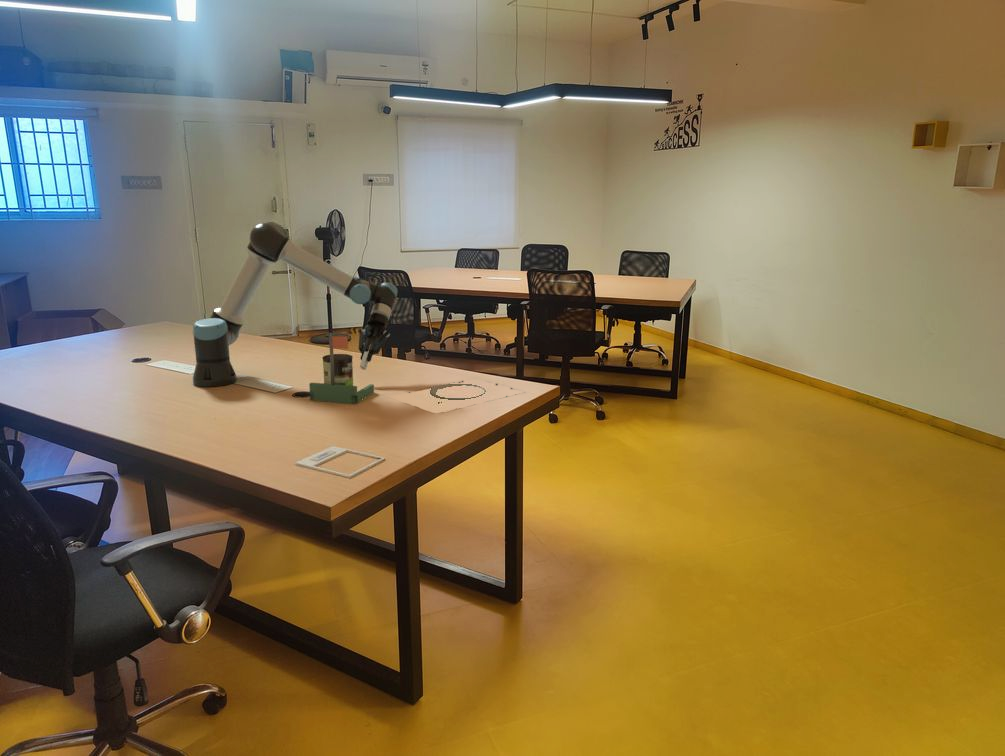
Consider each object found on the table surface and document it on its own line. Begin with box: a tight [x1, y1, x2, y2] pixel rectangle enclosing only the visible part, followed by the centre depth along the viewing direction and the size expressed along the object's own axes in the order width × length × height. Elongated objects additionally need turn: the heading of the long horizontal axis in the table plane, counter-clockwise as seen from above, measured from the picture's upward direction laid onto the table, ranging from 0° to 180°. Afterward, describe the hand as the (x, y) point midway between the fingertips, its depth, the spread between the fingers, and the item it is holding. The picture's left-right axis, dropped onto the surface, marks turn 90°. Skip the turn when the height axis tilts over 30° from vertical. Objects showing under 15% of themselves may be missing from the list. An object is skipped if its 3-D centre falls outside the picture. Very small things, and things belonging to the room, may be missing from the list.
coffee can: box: [321, 353, 354, 386], centre depth 235 cm, size 10×10×14 cm
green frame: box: [308, 332, 375, 405], centre depth 232 cm, size 16×17×24 cm
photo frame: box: [294, 445, 386, 479], centre depth 175 cm, size 15×1×18 cm
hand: (362, 367), depth 250 cm, fingers closed
